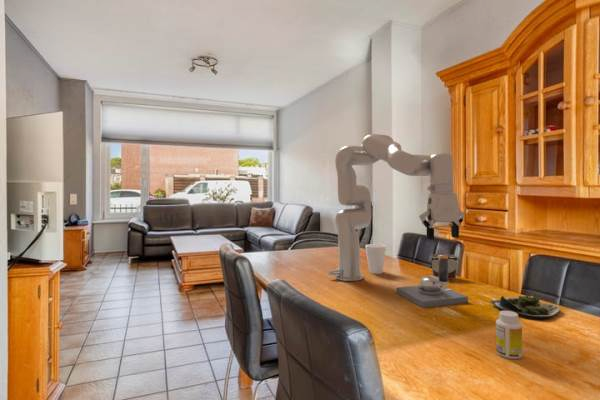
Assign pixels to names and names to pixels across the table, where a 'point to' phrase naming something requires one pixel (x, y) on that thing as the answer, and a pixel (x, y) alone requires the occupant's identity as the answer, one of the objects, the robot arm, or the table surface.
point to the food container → (451, 265)
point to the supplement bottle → (509, 335)
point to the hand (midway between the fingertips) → (443, 238)
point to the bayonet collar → (434, 282)
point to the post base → (431, 296)
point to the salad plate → (527, 307)
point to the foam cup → (375, 257)
